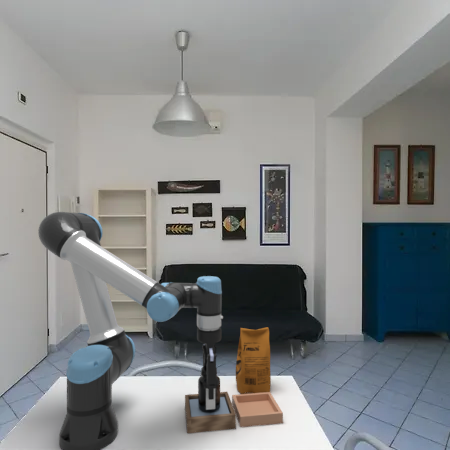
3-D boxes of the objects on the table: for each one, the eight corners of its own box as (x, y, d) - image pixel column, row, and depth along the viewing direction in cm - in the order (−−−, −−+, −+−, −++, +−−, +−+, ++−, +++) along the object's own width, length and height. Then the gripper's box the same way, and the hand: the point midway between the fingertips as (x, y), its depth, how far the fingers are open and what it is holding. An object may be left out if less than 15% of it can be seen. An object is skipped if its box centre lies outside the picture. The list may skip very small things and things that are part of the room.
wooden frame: (187, 433, 95) (187, 419, 95) (184, 407, 109) (184, 394, 109) (235, 428, 97) (235, 414, 97) (227, 403, 111) (227, 391, 111)
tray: (240, 427, 98) (240, 416, 98) (232, 404, 111) (232, 395, 111) (282, 423, 100) (282, 413, 100) (269, 400, 113) (270, 392, 113)
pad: (191, 423, 97) (191, 419, 97) (189, 402, 108) (189, 399, 108) (230, 419, 98) (230, 416, 98) (224, 399, 110) (224, 396, 110)
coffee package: (234, 382, 127) (235, 324, 127) (267, 381, 127) (267, 323, 127) (237, 395, 117) (237, 332, 117) (272, 394, 117) (272, 331, 117)
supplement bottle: (221, 402, 106) (221, 364, 106) (218, 414, 99) (219, 373, 100) (200, 401, 107) (200, 363, 107) (196, 412, 100) (196, 372, 100)
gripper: (226, 336, 94) (226, 419, 94) (216, 318, 114) (216, 386, 114) (200, 338, 93) (199, 421, 93) (194, 319, 112) (194, 387, 112)
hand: (209, 402), depth 103 cm, fingers closed on supplement bottle, 7 cm apart
